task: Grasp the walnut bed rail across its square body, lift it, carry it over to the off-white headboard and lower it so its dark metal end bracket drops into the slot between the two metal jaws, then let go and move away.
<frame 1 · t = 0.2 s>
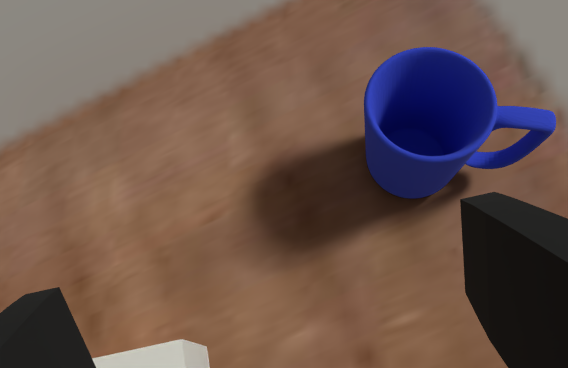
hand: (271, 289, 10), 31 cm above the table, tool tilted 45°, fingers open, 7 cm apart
mug: (432, 166, 43), on the table
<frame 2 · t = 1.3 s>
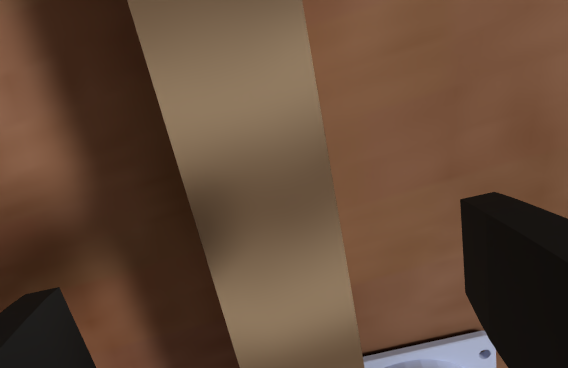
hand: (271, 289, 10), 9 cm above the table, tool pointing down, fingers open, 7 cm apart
walnut rail: (256, 150, 19), on the table
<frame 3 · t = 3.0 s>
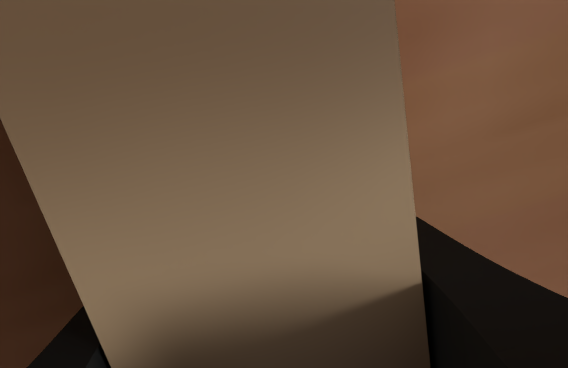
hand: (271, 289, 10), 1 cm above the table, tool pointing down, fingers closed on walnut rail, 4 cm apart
walnut rail: (276, 287, 11), on the table, touching gripper
when the fingers open (2 cm above the table, at t = 8.1 s): walnut rail stays where it is, on the table.
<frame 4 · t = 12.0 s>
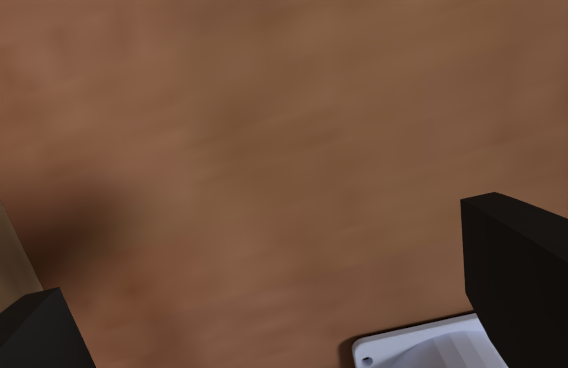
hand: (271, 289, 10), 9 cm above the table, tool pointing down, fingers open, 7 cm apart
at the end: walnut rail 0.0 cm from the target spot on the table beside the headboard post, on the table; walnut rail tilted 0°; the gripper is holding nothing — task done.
